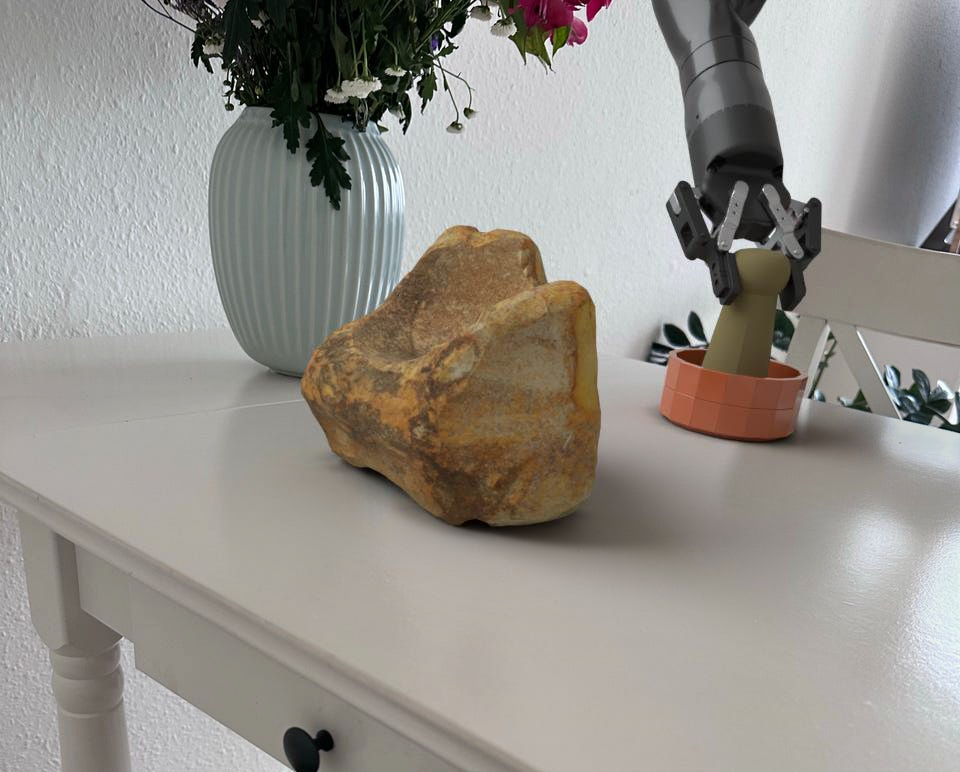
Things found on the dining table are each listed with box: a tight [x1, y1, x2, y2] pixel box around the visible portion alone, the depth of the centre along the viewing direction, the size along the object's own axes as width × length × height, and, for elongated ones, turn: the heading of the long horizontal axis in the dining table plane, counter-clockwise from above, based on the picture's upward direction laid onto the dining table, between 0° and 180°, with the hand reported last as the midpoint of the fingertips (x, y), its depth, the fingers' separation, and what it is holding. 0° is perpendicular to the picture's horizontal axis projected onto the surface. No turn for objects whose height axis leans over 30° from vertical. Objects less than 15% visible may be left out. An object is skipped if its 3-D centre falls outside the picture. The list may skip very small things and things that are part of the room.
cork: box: [701, 247, 791, 378], centre depth 82 cm, size 6×6×11 cm
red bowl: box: [658, 347, 809, 442], centre depth 85 cm, size 12×12×6 cm
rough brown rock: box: [300, 224, 602, 527], centre depth 60 cm, size 23×17×15 cm
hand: (762, 301), depth 79 cm, fingers closed on cork, 5 cm apart
